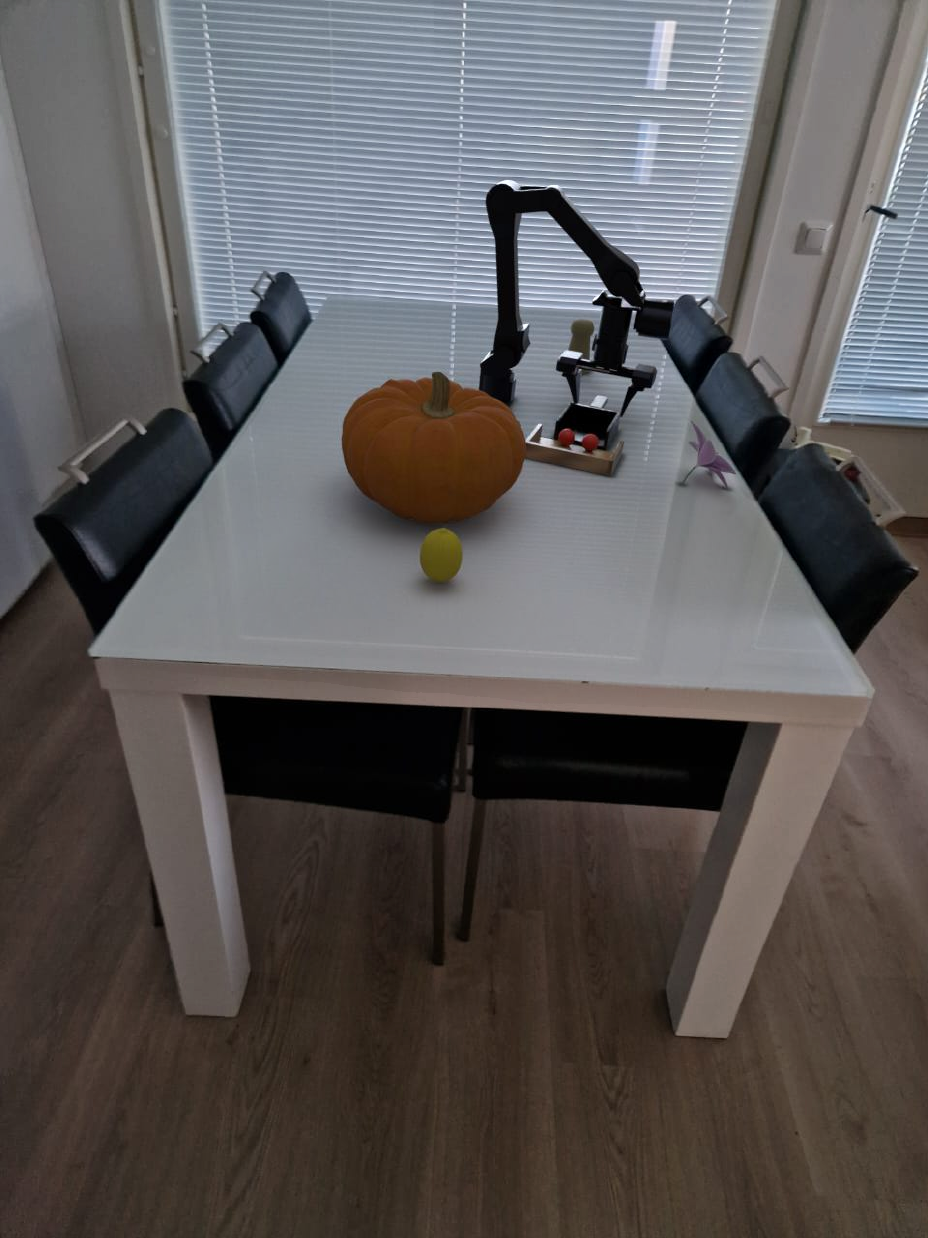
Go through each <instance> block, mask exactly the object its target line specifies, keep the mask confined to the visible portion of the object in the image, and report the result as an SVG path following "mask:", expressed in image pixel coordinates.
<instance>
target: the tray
mask: <svg viewBox="0 0 928 1238" xmlns="http://www.w3.org/2000/svg"><path fill="white" fill-rule="evenodd" d="M543 427H544V426H543V423H538V424H537V425H536V426H535V427H534V429H533V430H532V431H531V432H530V434H529V435H528V436H527V437H526V438H525V442H526V456H525V459H529V460H533V461H538V462H542V463H548V464H552V465H556V466H557V465H558V466H561V467H566V468H571V469H575V470H579V471H583V472H584V471H585V472H587V473H588V472H589V473H593V474H598V475H603V476H607V477H611V476H612V475H613V473H614V471H615V469H616V467H617V465H618V463H619V461H620V459H621V457H622V455H623V450H624V446H625V441H624V440H619V442H618V443H617V445H616V447H615V449H614V450H613V451H608V450H605V449H600V448H596V449H595V450H593V451H587V450H585V449H584V448H583V446H582V445H581V444H576V443H572V444H571V445H569V446H564V445H562V444H561V443H560V442H559V440H557V439H553V438H547V437H542V432H543Z"/></svg>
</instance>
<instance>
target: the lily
mask: <svg viewBox="0 0 928 1238" xmlns="http://www.w3.org/2000/svg"><path fill="white" fill-rule="evenodd" d="M690 422H691V425H692V427H693V429H694V431H695V434H696V438H697V442H696V441H693V440H692V441H691V440H690V441H688V445H690V446H692V448H693V449H694V450H695V452H697V460H696V465H694V466H693V468H691V470H690V471H689V472H688V473H687V474H686V476H685V477H684V479H683V480H682V482H681V483H680V485H684V483H685V482H686V480H687V479H688V478H689V476H690V475H691V474H692V473H693V471H695V469H697V468H698V467H701V468H705V469H707V470H708V473H710V474H716V475H717V477H718V478H719V479H720V481H721V482H722V483H723V485H724V486H725V488H726V489H727V490H728V487H729V486H728V483H727V481H726V478H725V476H724V474H723V473H725V474H732V475H737V473H736V471H735V469H734V468H733V467H732V465H731V464H730V463H729V461H727V459H725V458H724V457H723V456H721V455H719V452H718V451H717V450H716V448H715V446H714V444H713V442H712V440H709V439H708V440H707V438H706V435H704V433H703V431H702V430H701V429H700V428H699V426H697V424H696V422H694V421H693V420H690Z"/></svg>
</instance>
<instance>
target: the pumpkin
mask: <svg viewBox="0 0 928 1238" xmlns="http://www.w3.org/2000/svg"><path fill="white" fill-rule="evenodd" d="M341 434H342V435H341V450H342V455H343V460H344V464H345V467H346V470H347V474H349V476H350V478H351V479H352V481H353V482H354V484H355V486H356V487H357V488H358V490H359V491H360V492H361V493H362V494H363V496H365V497H366V498H368V499H369V500H372V501H373V502H375V503H377V504H378V505H380V506H381V507H382V508H384V509H386V510H388V511H390V512H391V513H392V514H394V515H395V516H396V517H399V518H401V519H403V520H413V521H414V522H416V523H418V524H421V525H443V524H445V523H448V522H449V523H454V522H455V523H456V522H462V521H465V520H469V519H471V518H473V517H476V516H479V515H481V514H482V513H484V512H485V511H487V510H488V509H490V508H491V507H492V506H493V505H494V504H495V503H496V502H497V501H498V500H499V499H501V498H502V496H504V495H505V494H506V493H507V492H508V491H510V490H511V489H512V488H513V486H514V485H515V483H516V482H517V481H518V479H519V477H520V475H521V472H522V470H523V466H524V462H525V459H526V458H525V456H526V442H525V440H526V438H525V435H524V431H523V429H522V424H521V423H520V421H519V420H518V419H517V417H516V415H515V413H513V411H512V409H511V408H510V407H509V405H505V404H504V403H502V402H501V401H499V400H497V399H494V398H492V397H491V396H489V395H488V394H486V393H485V392H483V391H480V390H479V389H476V388H472V387H464V388H463V386H462V385H460V383H457V382H455V381H453V380H450V379H449V378H448V376H447V375H445V374H444V373H443V372H441V371H433V372H432V373H431V377H422V378H418V379H416V380H415V381H414V380H412V379H407V378H406V379H405V378H403V379H402V378H401V379H397V380H396V379H392V378H391V379H388V380H386V381H384V383H383V384H382V385H380V386H378V387H373V388H372V389H370V390H368V391H366V392H365V393H363V394H362V395H360V396H358V397H357V399H356V400H354V402H353V403H352V405H350V407H349V408H348V410H347V412H346V415H345V416H344V419H343V422H342V433H341Z"/></svg>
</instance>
